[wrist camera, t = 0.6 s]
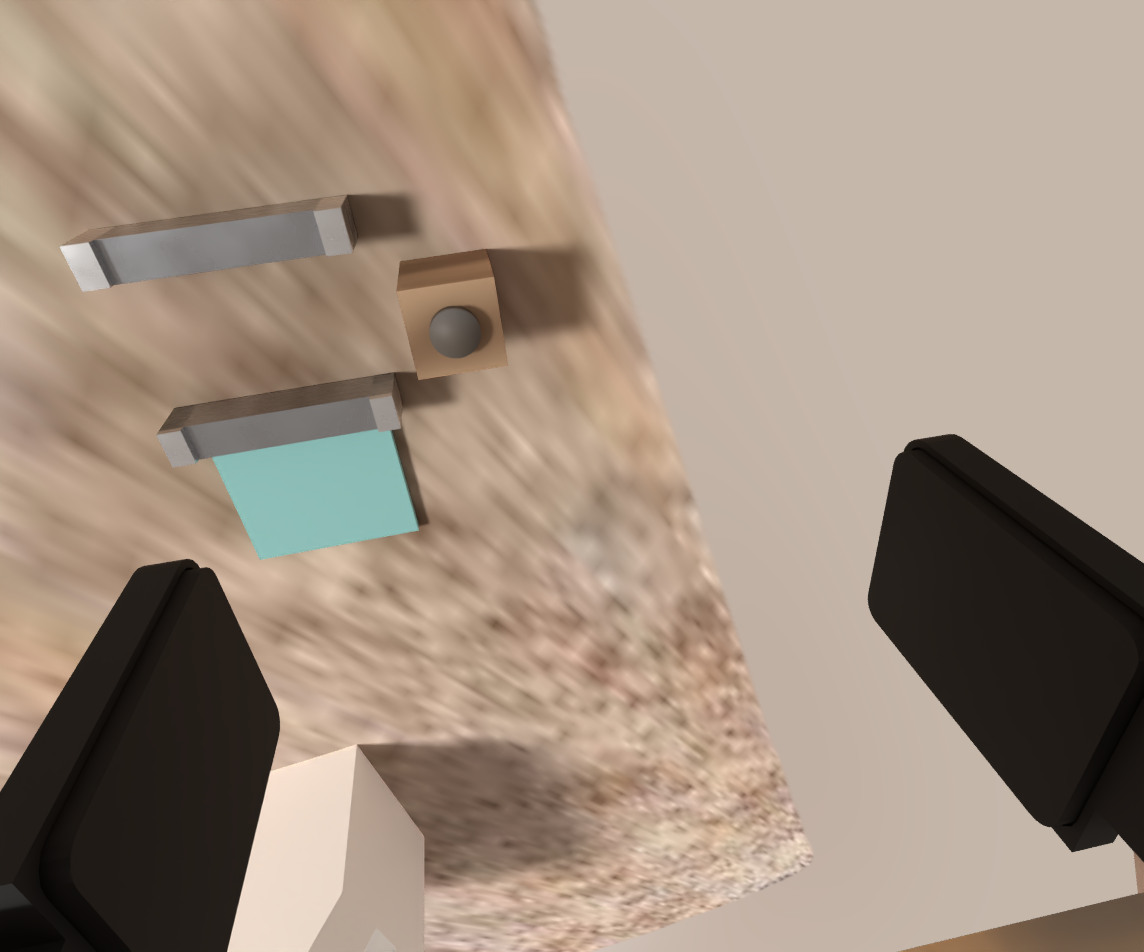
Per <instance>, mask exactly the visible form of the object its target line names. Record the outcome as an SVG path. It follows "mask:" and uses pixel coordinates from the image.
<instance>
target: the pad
mask: <svg viewBox="0 0 1144 952" xmlns="http://www.w3.org/2000/svg"><path fill="white" fill-rule="evenodd" d="M212 458H213V460H214V463H215V465H216V467H217V469H218V471H219V473H220V475H221V477H222V480H223V482H224V484H225V486H226V488H227V490H228V492H229V494H230V497H231V499H232V501H233V503H234V505H235V507H236V509H237V512H238V514H239V516H240V518H241V520H242V522H243V524H244V526H245V529H246V531H247V533H248V535H249V537H250V539H251V541H252V543H253V546H254V548H255V550H256V552H257V554H258V556H259V558H260V560H261V559H267V558H272V557H278V556H283V555H288V554H294V553H299V552H305V551H310V550H315V549H321V548H326V547H331V546H337V545H342V544H348V543H353V542H358V541H364V540H369V539H375V538H380V537H385V536H391V535H396V534H402V533H407V532H412V531H418V530H419V524H418V520H417V517H416V513H415V510H414V506H413V503H412V499H411V496H410V492H409V489H408V485H407V482H406V478H405V475H404V471H403V468H402V464H401V461H400V457H399V453H398V450H397V446H396V443H395V439H394V436H393V432H392V430H390V431H384V432H379V431H378V429H375V430H370V431H364V432H358V433H352V434H346V435H340V436H334V437H328V438H322V439H317V440H311V441H305V442H299V443H293V444H287V445H281V446H275V447H270V448H264V449H258V450H252V451H246V452H240V453H234V454H228V455H222V456H217V457H212Z"/></svg>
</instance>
